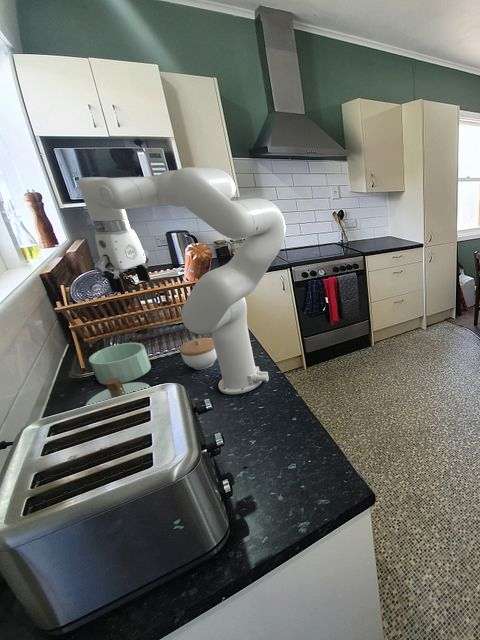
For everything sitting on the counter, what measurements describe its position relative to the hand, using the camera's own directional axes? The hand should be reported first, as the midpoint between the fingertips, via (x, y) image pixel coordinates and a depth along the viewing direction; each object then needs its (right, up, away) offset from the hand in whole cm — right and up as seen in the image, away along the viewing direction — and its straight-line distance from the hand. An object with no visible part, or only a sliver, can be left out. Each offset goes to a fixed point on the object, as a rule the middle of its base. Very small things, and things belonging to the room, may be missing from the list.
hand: (132, 286), depth 101 cm
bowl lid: (-3, -33, -1) cm, 33 cm away
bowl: (-13, -27, +12) cm, 33 cm away
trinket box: (+9, -26, +18) cm, 33 cm away
